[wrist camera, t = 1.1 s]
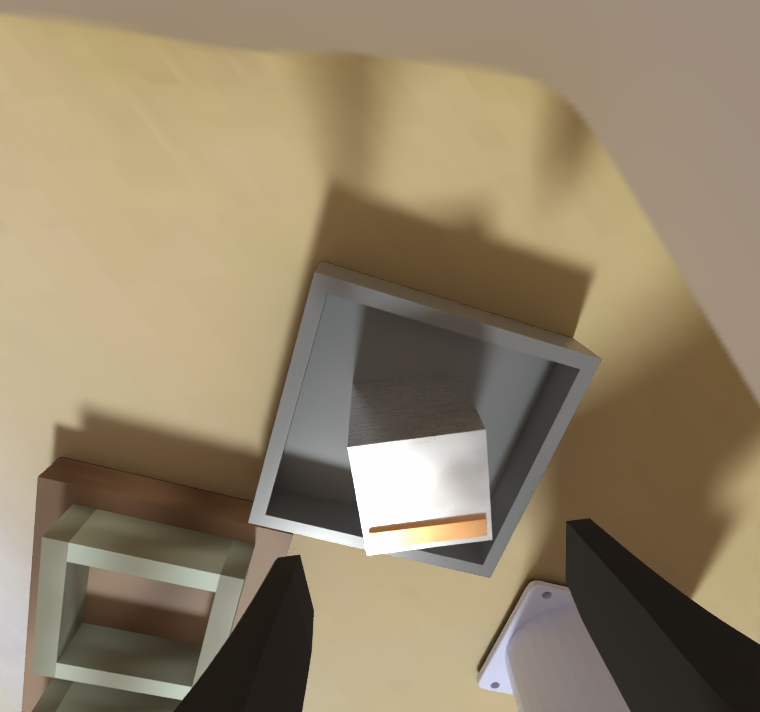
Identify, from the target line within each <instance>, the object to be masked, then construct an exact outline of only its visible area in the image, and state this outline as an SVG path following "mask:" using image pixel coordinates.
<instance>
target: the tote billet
mask: <svg viewBox="0 0 760 712" xmlns="http://www.w3.org/2000/svg"><path fill="white" fill-rule="evenodd" d="M347 448H348V453H349V459H350V464H351V470H352V475H353V481H354V486H355V492H356V497H357V503H358V508H359V514H360V519H361V525H362V530H363V535H364V541H365V546H366V552H367V555H374V554H382V553H390V552H398V551H406V550H414V549H422V548H430V547H438V546H447V545H455V544H463V543H471V542H479V541H487V540H492V523H491V506H490V489H489V472H488V455H487V438H486V428H485V426H484V424H483V422H482V420H481V418H480V416H479V414H478V412H477V410H476V408H475V406H474V404H473V402H472V400H471V398H470V396H469V394H468V391H467V389H466V387H465V385H464V383H463V381H462V379H461V377H460V375H459V373H458V371H457V370H450V371H443V372H435V373H428V374H420V375H412V376H405V377H397V378H390V379H382V380H375V381H367V382H360V383H352V395H351V408H350V420H349V433H348V446H347Z"/></svg>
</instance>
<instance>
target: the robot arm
mask: <svg viewBox="0 0 760 712" xmlns="http://www.w3.org/2000/svg"><path fill="white" fill-rule="evenodd" d="M566 582H567V584H568V587H565V586H560V585H556V584H552V583H547V582H543V581H536V580H535V581H532V582H530V583H529V584H528V585H527V587H526V588H525V590H524V592H523V594H522V596H521V597H520V599H519V601H518V603H517V605H516V606H515V608H514V610H513V612H512V614H511V616H510V617H509V619H508V621H507V623H506V625H505V626H504V628H503V630H502V632H501V634H500V636H499V637H498V639H497V641H496V643H495V645H494V646H493V648H492V650H491V652H490V654H489V656H488V657H487V659H486V661H485V663H484V665H483V666H482V668H481V670H480V672H479V674H478V676H477V682H478V686H479V687H480V688H483V689H487V690H492V691H497V692H502V693H507V694H512V695H514V699H515V702H516V706H517V709H518V712H760V644H758V643H756V642H755V641H753V640H752V639H750V638H748V637H747V636H745V635H744V634H742V633H741V632H739V631H737V630H736V629H734V628H733V627H731V626H730V625H728V624H726V623H725V622H723V621H722V620H720V619H719V618H717V617H716V616H714V615H713V614H711V613H710V612H708V611H707V610H705V609H704V608H703V607H701V606H700V605H698V604H697V603H695V602H694V601H693V600H691V599H690V598H688V597H687V596H686V595H684V594H683V593H682V592H680V591H679V590H678V589H676V588H675V587H674V586H672V585H671V584H670V583H668V582H667V581H666V580H664V579H663V578H662V577H661V576H659V575H658V574H657V573H655V572H654V571H653V570H652V569H650V568H649V567H648V566H646V565H645V564H644V563H643V562H641V561H640V560H639V559H638V558H636V557H635V556H634V555H633V554H632V553H630V552H629V551H628V550H627V549H626V548H624V547H623V546H622V545H621V544H620V543H618V542H617V541H616V540H615V539H614V538H612V537H611V536H610V535H609V534H608V533H606V532H605V531H604V530H603V529H602V528H600V527H599V526H598V525H597V524H596V523H594V522H593V521H592V520H591V519H581V520H573V521H566ZM544 592H545V593H544ZM313 617H314V609H313V605H312V601H311V597H310V593H309V589H308V585H307V581H306V577H305V573H304V569H303V565H302V561H301V557H300V555H294V556H286V557H278V558H277V559H276V560H275V561H274V563H273V565H272V567H271V568H270V570H269V572H268V574H267V576H266V577H265V579H264V581H263V582H262V584H261V586H260V588H259V589H258V591H257V593H256V594H255V596H254V598H253V599H252V601H251V603H250V604H249V606H248V608H247V609H246V611H245V612H244V614H243V615H242V617H241V619H240V620H239V622H238V623H237V625H236V627H235V628H234V630H233V631H232V633H231V634H230V636H229V637H228V639H227V640H226V642H225V643H224V644H223V646H222V647H221V649H220V650H219V652H218V653H217V654H216V656H215V657H214V659H213V660H212V662H211V663H210V664H209V666H208V667H207V669H206V670H205V671H204V673H203V674H202V675H201V677H200V678H199V679H198V681H197V682H196V683H195V684H194V686H193V687H192V688H191V690H190V691H189V692H188V693H187V695H186V696H185V697H184V698H183V700H182V701H181V702H180V703H179V705H178V706H177V707H176V708H175V709H174V711H173V712H302V708H303V702H304V696H305V690H306V684H307V678H308V671H309V665H310V658H311V652H312V636H313Z"/></svg>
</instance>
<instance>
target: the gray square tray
mask: <svg viewBox="0 0 760 712" xmlns="http://www.w3.org/2000/svg"><path fill="white" fill-rule="evenodd" d="M601 360H602V359H601V358H599V357H598V356H597V355H595V354H594V353H593V352H591V351H590V350H589V349H587V348H586V347H585V346H583V345H582V344H580V343H579V342H578V341H576V340H575V339H574V338H571V337H567V336H564V335H561V334H558V333H554V332H551V331H548V330H545V329H541V328H538V327H535V326H532V325H528V324H525V323H522V322H519V321H515V320H512V319H509V318H506V317H502V316H499V315H496V314H493V313H489V312H486V311H483V310H480V309H476V308H473V307H470V306H467V305H463V304H460V303H457V302H454V301H450V300H447V299H444V298H441V297H437V296H434V295H431V294H428V293H424V292H421V291H418V290H415V289H411V288H408V287H405V286H402V285H398V284H395V283H392V282H389V281H385V280H382V279H379V278H376V277H373V276H369V275H366V274H363V273H360V272H356V271H353V270H350V269H347V268H343V267H340V266H337V265H334V264H330V263H327V262H324V261H321V262H320V264H319V265H318V267H317V268H316V270H315V272H314V275H313V279H312V283H311V287H310V290H309V294H308V298H307V302H306V305H305V309H304V313H303V317H302V321H301V324H300V328H299V332H298V336H297V340H296V343H295V347H294V351H293V355H292V359H291V362H290V366H289V370H288V374H287V377H286V381H285V385H284V389H283V393H282V396H281V400H280V404H279V408H278V412H277V415H276V419H275V423H274V427H273V431H272V434H271V438H270V442H269V446H268V449H267V453H266V457H265V461H264V465H263V468H262V472H261V476H260V480H259V484H258V487H257V491H256V495H255V499H254V503H253V506H252V510H251V514H250V518H249V522H248V523H251V524H255V525H260V526H264V527H269V528H273V529H277V530H282V531H286V532H291V533H295V534H299V535H304V536H308V537H312V538H317V539H321V540H326V541H330V542H334V543H339V544H343V545H348V546H352V547H356V548H361V549H365V550H366V546H365V541H364V535H363V530H362V525H361V519H360V514H359V508H358V503H357V497H356V492H355V486H354V481H353V475H352V470H351V464H350V459H349V453H348V448H347V446H348V433H349V420H350V408H351V395H352V383H360V382H367V381H375V380H382V379H390V378H397V377H405V376H412V375H420V374H428V373H435V372H443V371H450V370H457V371H458V373H459V375H460V377H461V379H462V381H463V383H464V385H465V387H466V389H467V391H468V394H469V396H470V398H471V400H472V402H473V404H474V406H475V408H476V410H477V412H478V414H479V416H480V418H481V420H482V422H483V424H484V426H485V428H486V438H487V455H488V472H489V489H490V506H491V523H492V540H487V541H479V542H471V543H463V544H455V545H447V546H438V547H430V548H422V549H414V550H406V551H398V552H390V553H383V554H387V555H391V556H396V557H400V558H405V559H409V560H413V561H418V562H422V563H427V564H431V565H435V566H440V567H444V568H448V569H453V570H457V571H462V572H466V573H470V574H475V575H479V576H484V577H488V578H490V577H491V575H492V574H493V572H494V570H495V568H496V566H497V564H498V562H499V560H500V558H501V556H502V554H503V552H504V550H505V548H506V546H507V544H508V542H509V540H510V538H511V536H512V534H513V532H514V530H515V529H516V527H517V525H518V523H519V521H520V519H521V517H522V515H523V513H524V511H525V509H526V507H527V505H528V503H529V501H530V499H531V497H532V495H533V493H534V491H535V489H536V487H537V485H538V484H539V482H540V480H541V478H542V476H543V474H544V472H545V470H546V468H547V466H548V464H549V462H550V460H551V458H552V456H553V454H554V452H555V450H556V448H557V446H558V444H559V442H560V440H561V439H562V437H563V435H564V433H565V431H566V429H567V427H568V425H569V423H570V421H571V419H572V417H573V415H574V413H575V411H576V409H577V407H578V405H579V403H580V401H581V399H582V397H583V395H584V394H585V392H586V390H587V388H588V386H589V384H590V382H591V380H592V378H593V376H594V374H595V372H596V370H597V368H598V366H599V364H600V362H601Z"/></svg>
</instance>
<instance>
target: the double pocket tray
mask: <svg viewBox="0 0 760 712" xmlns="http://www.w3.org/2000/svg"><path fill="white" fill-rule="evenodd" d="M253 503H254V502H250V501H246V500H242V499H237V498H233V497H229V496H225V495H220V494H216V493H212V492H208V491H203V490H199V489H195V488H190V487H186V486H182V485H178V484H173V483H169V482H165V481H161V480H156V479H152V478H148V477H143V476H139V475H135V474H131V473H126V472H122V471H118V470H114V469H109V468H105V467H101V466H96V465H92V464H88V463H84V462H79V461H75V460H71V459H67V458H62V457H60V458H59V459H58V460H56V461H55V462H54V463H53V464H52V465H51V466H50V467H48V468H47V469H46V470H45V471H44V472H43V473H42V474H41V475H39V476H38V483H37V497H36V512H35V527H34V541H33V556H32V570H31V585H30V599H29V614H28V628H27V643H26V658H25V672H24V687H23V701H22V712H173V711H174V709H175V708H176V707H177V706H178V705H179V703H180V702H181V701H182V700H183V698H184V697H185V696H186V695H187V693H188V692H189V691H190V690H191V688H192V687H193V686H194V684H195V683H196V682H197V681H198V679H199V678H200V677H201V675H202V674H203V673H204V671H205V670H206V669H207V667H208V666H209V664H210V663H211V662H212V660H213V659H214V657H215V656H216V654H217V653H218V652H219V650H220V649H221V647H222V646H223V644H224V643H225V642H226V640H227V639H228V637H229V636H230V634H231V633H232V631H233V630H234V628H235V627H236V625H237V623H238V622H239V620H240V619H241V617H242V615H243V614H244V612H245V611H246V609H247V608H248V606H249V604H250V603H251V601H252V599H253V598H254V596H255V594H256V593H257V591H258V589H259V588H260V586H261V584H262V582H263V581H264V579H265V577H266V576H267V574H268V572H269V570H270V568H271V567H272V565H273V563H274V561H275V560H276V559H277V558H278V557H286V555H287V552H288V549H289V545H290V542H291V539H292V536H293V533H291V532H286V531H282V530H277V529H273V528H269V527H264V526H260V525H255V524H251V523H248V522H249V518H250V514H251V510H252V506H253Z"/></svg>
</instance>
